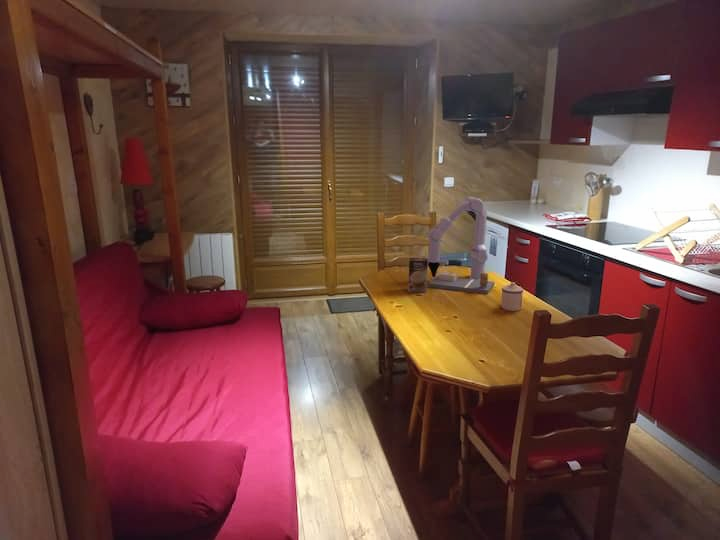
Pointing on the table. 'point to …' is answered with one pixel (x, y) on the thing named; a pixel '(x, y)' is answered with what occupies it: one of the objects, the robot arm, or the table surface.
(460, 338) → the table surface
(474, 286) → the subfloor board
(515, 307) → the teacup with lid
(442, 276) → the stud finder
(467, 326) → the table surface
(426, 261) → the coffee box
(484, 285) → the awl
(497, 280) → the table surface
